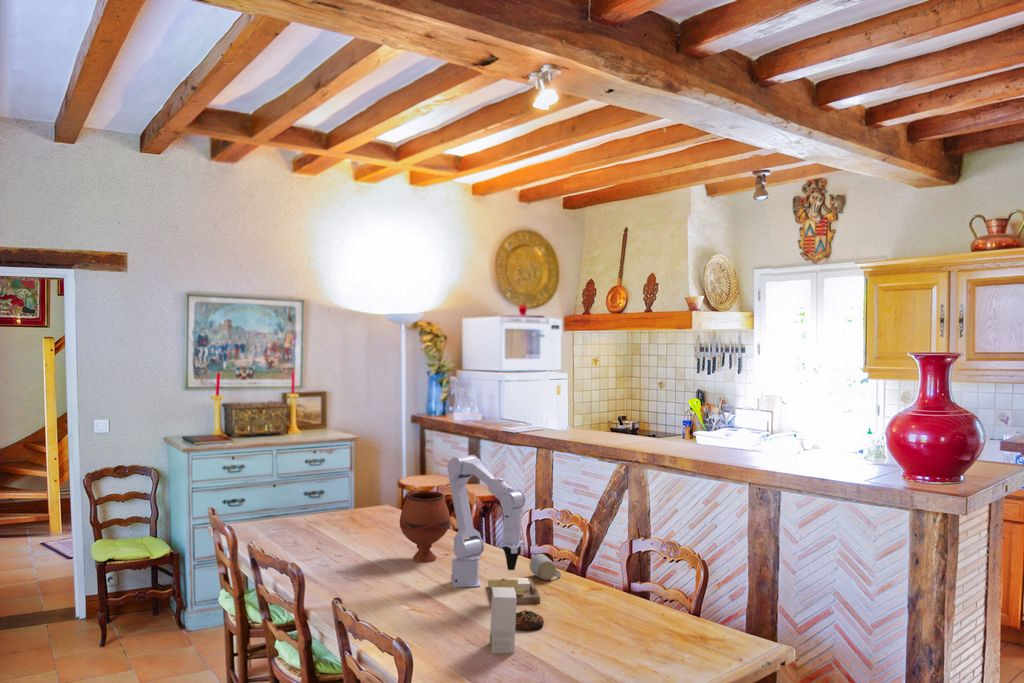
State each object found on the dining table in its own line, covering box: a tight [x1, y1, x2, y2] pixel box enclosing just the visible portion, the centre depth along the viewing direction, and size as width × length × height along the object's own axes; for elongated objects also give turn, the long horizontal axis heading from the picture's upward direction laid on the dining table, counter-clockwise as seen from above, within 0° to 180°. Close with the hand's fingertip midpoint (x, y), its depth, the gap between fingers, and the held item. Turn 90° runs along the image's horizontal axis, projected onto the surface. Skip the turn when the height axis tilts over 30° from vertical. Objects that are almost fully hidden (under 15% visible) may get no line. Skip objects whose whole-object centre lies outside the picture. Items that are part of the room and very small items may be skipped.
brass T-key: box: [487, 578, 524, 595], centre depth 246 cm, size 12×2×5 cm, turn 97°
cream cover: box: [506, 577, 530, 591], centre depth 254 cm, size 7×6×2 cm
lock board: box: [488, 577, 541, 605], centre depth 254 cm, size 15×18×4 cm
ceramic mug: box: [529, 553, 562, 581], centre depth 273 cm, size 11×8×8 cm
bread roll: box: [515, 610, 545, 632], centre depth 227 cm, size 11×11×5 cm
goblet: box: [399, 491, 451, 564], centre depth 292 cm, size 19×19×25 cm
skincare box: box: [489, 587, 517, 655], centre depth 209 cm, size 8×7×16 cm
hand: (511, 569), depth 250 cm, fingers closed
